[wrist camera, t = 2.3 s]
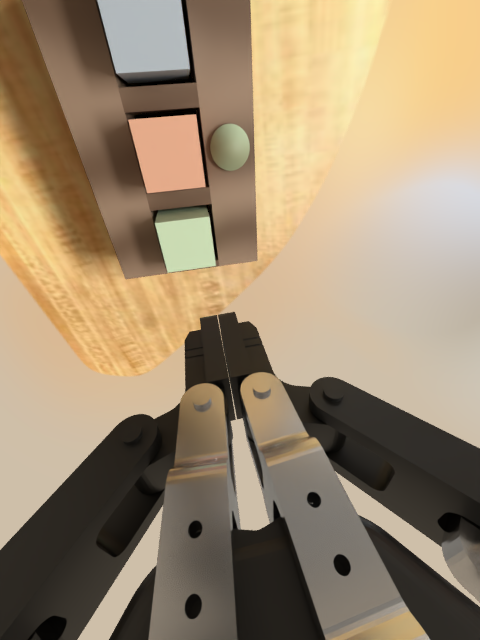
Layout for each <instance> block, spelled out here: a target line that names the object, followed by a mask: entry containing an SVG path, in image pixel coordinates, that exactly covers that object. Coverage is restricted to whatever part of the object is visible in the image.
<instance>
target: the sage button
mask: <svg viewBox="0 0 480 640" xmlns="http://www.w3.org/2000/svg"><path fill="white" fill-rule="evenodd" d="M155 226H156V229H157V233H158V237H159V241H160V245H161V249H162V253H163V257H164V260H165V264H166V268H167V272H168V273H170V272H177V271H184V270H191V269H198V268H205V267H212V266H216V262H215V255H214V247H213V239H212V232H211V224H210V217H209V214H208V210H207V207H206V205H197V206H189V207H180V208H171V209H163V210H158V213H157V217H156V221H155Z"/></svg>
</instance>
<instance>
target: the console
mask: <svg viewBox="0 0 480 640" xmlns="http://www.w3.org/2000/svg"><path fill="white" fill-rule="evenodd" d="M22 2H23V5H24V7H25V10H26V13H27V16H28V18H29V21H30V24H31V26H32V29H33V32H34V34H35V37H36V40H37V42H38V45H39V48H40V50H41V53H42V56H43V59H44V61H45V64H46V67H47V69H48V72H49V75H50V77H51V80H52V83H53V85H54V88H55V91H56V93H57V96H58V99H59V102H60V104H61V107H62V110H63V112H64V115H65V118H66V120H67V123H68V126H69V128H70V131H71V134H72V136H73V139H74V142H75V145H76V147H77V150H78V153H79V155H80V158H81V161H82V163H83V166H84V169H85V171H86V174H87V177H88V179H89V182H90V185H91V188H92V190H93V193H94V196H95V198H96V201H97V204H98V206H99V209H100V212H101V214H102V217H103V220H104V222H105V225H106V228H107V231H108V233H109V236H110V239H111V241H112V244H113V247H114V249H115V252H116V255H117V257H118V260H119V263H120V265H121V268H122V271H123V274H124V276H125V279H131V278H138V277H145V276H152V275H160V274H167V273H168V272H167V268H166V264H165V260H164V257H163V253H162V249H161V245H160V241H159V237H158V233H157V229H156V226H155V221H156V217H157V213H158V210H163V209H171V208H180V207H189V206H197V205H206V204H208V206H209V213H210V221H211V228H212V236H213V247H214V255H215V262H216V266H223V265H231V264H238V263H245V262H252V261H257V228H256V192H255V156H254V119H253V83H252V47H251V11H250V0H182V7H183V15H184V23H185V30H186V38H187V45H188V53H189V61H190V68H191V76H192V83H183V84H168V85H153V86H138V87H128V83H127V82H126V81H125V80H124V79H123V78H121V77H120V76H119V75H117V74H116V71H115V67H114V63H113V59H112V55H111V51H110V48H109V44H108V40H107V36H106V32H105V28H104V24H103V20H102V17H101V13H100V9H99V5H98V1H97V0H22ZM193 110H196V114H197V122H198V129H199V137H200V145H201V152H202V160H203V167H204V175H205V177H204V179H205V186H206V187H201V188H192V189H183V190H174V191H164V192H155V193H147V191H146V187H145V183H144V179H143V175H142V171H141V168H140V164H139V160H138V156H137V152H136V148H135V144H134V140H133V137H132V133H131V129H130V125H129V121H128V120H131V119H136V116H135V115H142V114H155V113H167V112H180V111H193ZM216 266H212V267H216ZM205 268H209V267H205ZM198 269H202V268H198ZM191 270H195V269H191ZM184 271H188V270H184ZM177 272H181V271H177ZM170 273H174V272H170Z"/></svg>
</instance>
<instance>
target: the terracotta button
mask: <svg viewBox="0 0 480 640" xmlns="http://www.w3.org/2000/svg"><path fill="white" fill-rule="evenodd" d="M128 121H129V125H130V129H131V133H132V137H133V140H134V144H135V148H136V152H137V156H138V160H139V164H140V168H141V171H142V175H143V179H144V183H145V187H146V191H147V193H155V192H164V191H174V190H183V189H192V188H201V187H206V186H205V179H204V171H203V164H202V156H201V149H200V141H199V134H198V126H197V118H196V114H194V115H181V116H168V117H156V118H143V119H131V120H128Z"/></svg>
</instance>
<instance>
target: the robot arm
mask: <svg viewBox="0 0 480 640" xmlns="http://www.w3.org/2000/svg"><path fill="white" fill-rule="evenodd" d="M218 317H219V323H220V329H221V335H220V329H219V324H218V319H217V315H214V316H209V317H203V318H200V324H201V330H197V331H191V332H189V334H188V336H187V337H186V339H185V385H186V389H185V394H184V395H183V396H182V399H181V402H180V403H179V404H178V405H177V406H176V407H175V408H174V409H172V410H171V411H169V412H167V413H165V414H164V415H161V416H160V417H157V418H156V419H153V418H152V417H150V416H148V415H144V414H138V415H133V416H131V417H128V418H126V419H125V420H123V421H122V422H121V423H119V424H118V425H117V426H116V427H115V428H114V429H113V431H111V432H110V434H109V435H108V436H107V437H106V438H105V439H104V440H103V441H102V442H101V443H100V444H99V445H98V446H97V447H96V449H95V450H94V451H93V452H92V453H91V454H90V455H89V456H88V457H87V458H86V459H85V460H84V461H83V462H82V463H81V465H80V466H79V467H78V468H77V469H76V470H75V471H74V472H73V473H72V474H71V475H70V476H69V477H68V478H67V479H66V480H65V482H64V483H63V484H62V485H61V486H60V487H59V488H58V489H57V490H56V491H55V492H54V493H53V494H52V496H51V497H50V498H49V499H48V500H47V501H46V502H45V503H44V504H43V505H42V506H41V507H40V508H39V509H38V510H37V511H36V513H35V514H34V515H33V516H32V517H31V518H30V519H29V520H28V521H27V522H26V523H25V524H24V525H23V527H21V529H20V530H19V531H18V532H17V533H16V534H15V535H14V536H13V537H12V538H11V539H10V541H8V542H7V544H6V545H5V546H4V547H3V548H2V549H1V550H0V640H77V639H78V638H79V636H80V634H81V633H82V631H83V630H84V628H85V627H86V625H87V623H88V622H89V620H90V619H91V617H92V616H93V614H94V612H95V611H96V609H97V608H98V606H99V605H100V603H101V601H102V600H103V598H104V597H105V595H106V594H107V592H108V590H109V588H110V587H111V586H112V584H113V583H114V581H115V579H116V578H117V576H118V574H119V573H120V572H121V570H122V568H123V567H124V565H125V563H126V562H127V561H128V559H129V557H130V556H131V554H132V553H133V551H134V550H135V548H136V546H137V545H138V543H139V542H140V540H141V538H142V537H143V535H144V534H145V532H146V531H147V529H148V528H149V526H150V524H151V523H152V521H153V520H154V518H155V516H156V515H157V513H158V512H159V510H160V509H161V507H162V505H163V514H162V523H161V531H160V540H159V549H158V558H157V565H156V566H155V567H154V569H152V571H151V572H150V573H149V574H148V575H147V577H146V578H145V579H144V580H143V582H142V583H141V585H140V586H139V588H138V589H137V591H136V592H135V594H134V596H133V597H132V599H131V601H130V603H129V604H128V606H127V608H126V610H125V611H124V613H123V615H122V617H121V619H120V621H119V623H118V624H117V626H116V628H115V630H114V632H113V633H112V635H111V637H110V639H109V640H480V607H479V606H478V605H477V604H475V603H474V602H473V601H471V600H470V599H469V598H468V597H466V596H465V595H464V594H463V593H462V592H460V591H459V590H458V589H457V588H455V587H454V586H453V585H451V584H450V583H449V582H448V581H447V580H445V579H444V578H443V577H442V576H441V575H439V574H438V573H437V572H436V571H434V570H433V569H432V568H431V567H429V566H428V565H427V564H426V563H424V562H423V561H422V560H421V559H419V558H418V557H417V556H416V555H414V554H413V553H412V552H411V551H409V550H408V549H407V548H406V547H404V546H403V545H402V544H401V543H399V542H398V541H397V540H396V539H395V538H393V537H392V536H391V535H390V534H388V533H387V532H386V531H385V530H383V529H382V528H381V527H379V526H377V525H376V524H374V523H373V522H371V521H369V520H367V519H365V518H363V517H361V516H359V515H358V514H357V512H356V510H355V509H354V507H353V505H352V503H351V501H350V499H349V497H348V495H347V493H346V491H345V490H344V488H343V486H342V484H341V482H340V480H339V478H338V476H337V474H336V473H335V471H336V472H337V473H338V474H340V475H341V476H343V477H344V478H346V479H347V480H348V481H350V482H351V483H352V484H354V485H355V486H357V487H358V488H360V489H361V490H362V491H364V492H365V493H367V494H368V495H369V496H371V497H372V498H374V499H375V500H377V501H378V502H379V503H381V504H382V505H383V506H385V507H386V508H388V509H389V510H390V511H392V512H393V513H395V514H396V515H397V516H399V517H400V518H402V519H403V520H404V521H406V522H407V523H409V524H410V525H412V526H413V527H414V528H416V529H417V530H419V531H420V532H422V533H423V534H424V535H426V536H427V537H429V538H430V539H431V540H433V541H434V542H435V543H437V544H438V545H440V546H441V547H442V551H443V556H444V558H445V561H446V563H447V565H448V567H449V569H450V571H451V572H452V574H453V576H454V577H455V578H456V579H457V580H458V582H459V583H460V584H461V585H462V586H463V587H464V588H465V589H466V590H467V591H468V592H469V593H471V594H472V595H473V596H474V597H475V598H476V599H477V600H478V601H479V602H480V448H477V447H476V446H473V445H471V444H469V443H467V442H465V441H463V440H461V439H459V438H457V437H455V436H453V435H451V434H449V433H447V432H445V431H443V430H441V429H439V428H437V427H435V426H433V425H431V424H429V423H427V422H425V421H423V420H421V419H419V418H417V417H415V416H413V415H411V414H409V413H407V412H405V411H403V410H401V409H399V408H397V407H395V406H393V405H391V404H389V403H387V402H385V401H383V400H381V399H379V398H377V397H375V396H373V395H371V394H369V393H367V392H365V391H363V390H361V389H359V388H357V387H354V386H353V385H351V384H349V383H347V382H345V381H343V380H340V379H337V378H333V377H324V378H320V379H318V380H316V381H315V382H314V383H313V384H312V386H311V387H303V386H294V385H289V384H287V383H284V382H283V381H281V380H280V379H278V378H277V377H276V376H275V374H274V372H273V370H272V367H271V365H270V362H269V360H268V357H267V354H266V352H265V349H264V346H263V345H262V341H261V339H260V336H259V333H258V331H257V328H256V327H255V326H254V325H253V324H251V323H250V322H249V321H248V322H242V323H238V321H237V318H236V314H235V312H232V313H226V314H220V315H218ZM221 336H222V340H221ZM222 342H223V345H222ZM223 348H224V350H223ZM224 353H225V355H224ZM225 358H226V360H225ZM226 364H227V366H226ZM227 369H228V371H227ZM228 374H229V376H228ZM229 379H230V382H229ZM230 384H231V388H230ZM231 389H232V394H233V399H234V405H235V409H236V415H237V419H241V418H243V421H244V426H245V431H246V438H247V442H248V445H249V448H250V452H251V455H252V458H253V462H254V465H255V469H256V472H257V476H258V479H259V483H260V486H261V489H262V493H263V497H264V502H265V506H266V511H267V514H268V518H269V521H270V524H269V525H267V526H265V527H264V528H262V529H260V530H257V531H252V530H241V528H240V518H239V509H238V502H237V491H236V480H235V468H234V456H233V444H232V439H233V433H232V427H231V422H230V421H232V420H235V414H234V407H233V401H232V394H231Z"/></svg>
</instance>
